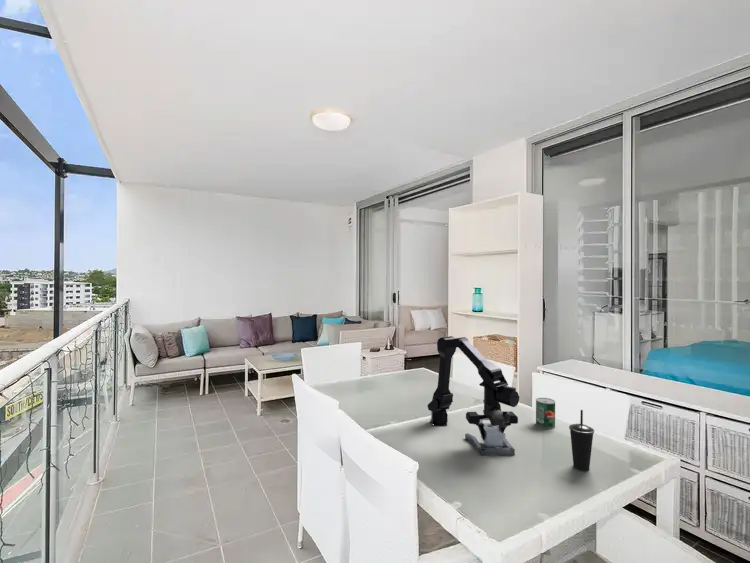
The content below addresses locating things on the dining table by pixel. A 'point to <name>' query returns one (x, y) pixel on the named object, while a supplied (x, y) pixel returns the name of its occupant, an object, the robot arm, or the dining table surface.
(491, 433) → the block
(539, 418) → the canned tomato
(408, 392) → the dining table surface
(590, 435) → the drinking cup
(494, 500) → the dining table surface
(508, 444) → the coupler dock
